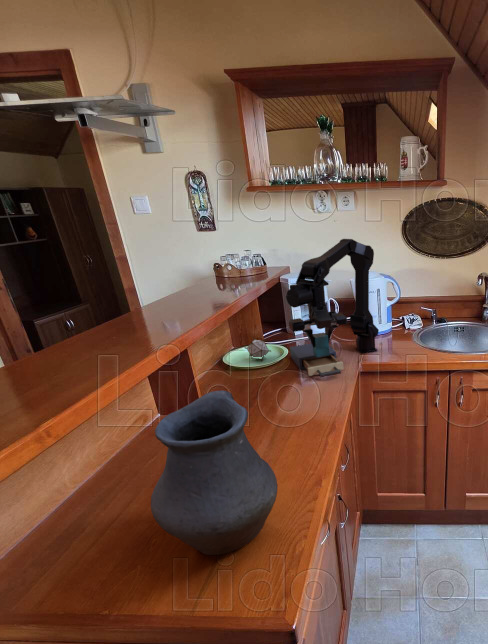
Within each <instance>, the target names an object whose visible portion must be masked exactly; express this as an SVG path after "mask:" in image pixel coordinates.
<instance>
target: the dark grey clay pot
mask: <svg viewBox="0 0 488 644" xmlns="http://www.w3.org/2000/svg"><path fill="white" fill-rule="evenodd" d="M248 419H249V412H248V410H247V409H246V407H244V406H242V405H241V404H239V403H238V402H237V401H236V400H235V399H234V396H233V393H231V392H229V391H227V390H222V389H221V390H214V391H209V392H207V393H205V394H203V395H202V396H200V397H199V398H197V399H195V400H194V401H192V402H190V403H188V404H187V405H185V406H184V407H181V408H179V409H178V410H175V411H172V412H171V413H168V414H167V415H165V416H164V417H163V418H162V419H161V420H160V421H159V422H158V424H157V425H156V428H155V429H154V433H155V437H156V439H157V440H158V441H160V442H161V444H162V445H164V447H167V452H166V457H165V458H166V459H165V465H164V468H163V471H162V473H161V475H160V476H159V479H158V480H157V482H156V484H155V485H154V488H153V491H152V493H151V496H150V511H151V514H152V516H153V519H154V520H155V522H156V523H157V524H158V526H159V527H160V528H161V529H163V531H164V532H166V533H167V534H169V535H172V536H173V537H174V538H177V539H178V540H179V541H181V542H183V543H184V544H185V545H188V546H190V547H191V548H192V549H195V550H197V551H199V552H200V553H202V554H203V555H207V556H221V555H224V554H228V553H232V552H235V551H237V550H239V549H241V548H243V547H245V546H246V545H247V544H249V543H250V542H252V541H253V540H254V539H256V537H257V536H258V535H259V534H260V532H261V531H262V529H263V528H264V525H265V523H266V521H267V519H268V517H269V515H270V514H271V512H272V509H273V508H274V505H275V502H276V501H277V495H278V488H279V487H278V480H277V476H276V473H275V472H274V470H273V469H272V467H271V466H270V464H269V463H268V462H267V461H266V460H264V459H263V458H262V457H261V456H260V454H259V453H258V452H257V451H256V449H255V448H254V447H253V446H252V444H251V443H250V441H249V439H248V438H247V435H246V433H245V431H244V428H245V426H246V424H247V421H248Z"/></svg>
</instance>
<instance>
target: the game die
mask: <svg viewBox="0 0 488 644" xmlns="http://www.w3.org/2000/svg"><path fill="white" fill-rule="evenodd" d="M265 341H266V339H265V338H264V339H262V340H259V339H256V338H255V337H253V340H252V341H251V342H250V343H249V345H247V347H244V349H245V350H247V352H248V353H249V357H251V356H253V357H262V356H264V355H265V356H267V354H268V353H269V352H270V353H271V352H272V350H271V349H269V348H268V346H267V343H266V342H265ZM259 360H260V361H261V362H263V361H264V360H263V359H259Z"/></svg>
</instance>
